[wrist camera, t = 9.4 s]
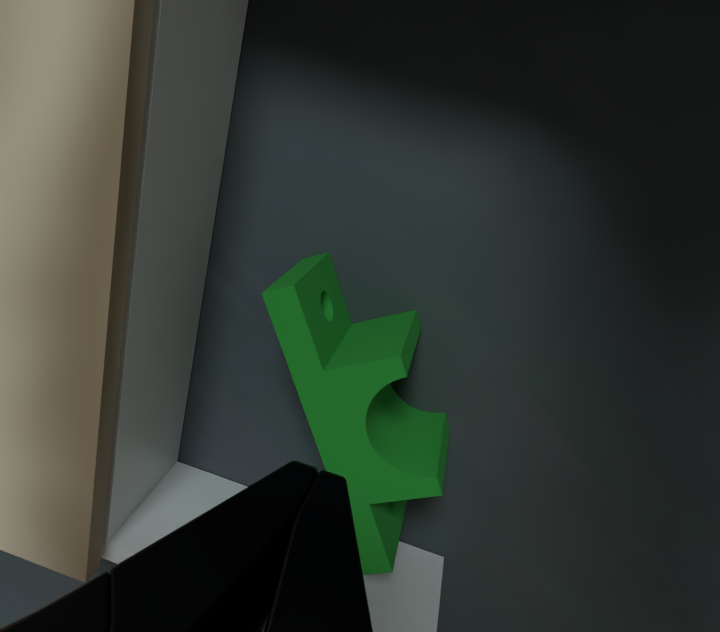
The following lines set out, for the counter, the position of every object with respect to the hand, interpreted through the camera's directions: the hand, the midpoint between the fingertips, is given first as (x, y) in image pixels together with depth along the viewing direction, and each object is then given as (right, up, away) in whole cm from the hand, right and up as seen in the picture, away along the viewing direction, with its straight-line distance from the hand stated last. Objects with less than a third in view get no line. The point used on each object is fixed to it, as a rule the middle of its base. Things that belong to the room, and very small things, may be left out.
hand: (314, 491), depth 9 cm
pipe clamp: (+2, 0, +13) cm, 13 cm away
